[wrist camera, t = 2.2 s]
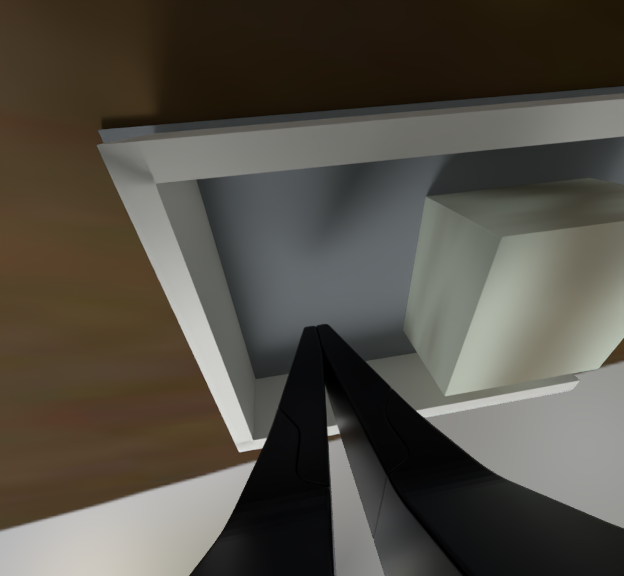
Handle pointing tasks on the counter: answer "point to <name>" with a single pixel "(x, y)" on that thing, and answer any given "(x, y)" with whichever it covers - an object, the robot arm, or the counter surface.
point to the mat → (355, 228)
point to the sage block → (518, 283)
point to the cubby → (299, 155)
